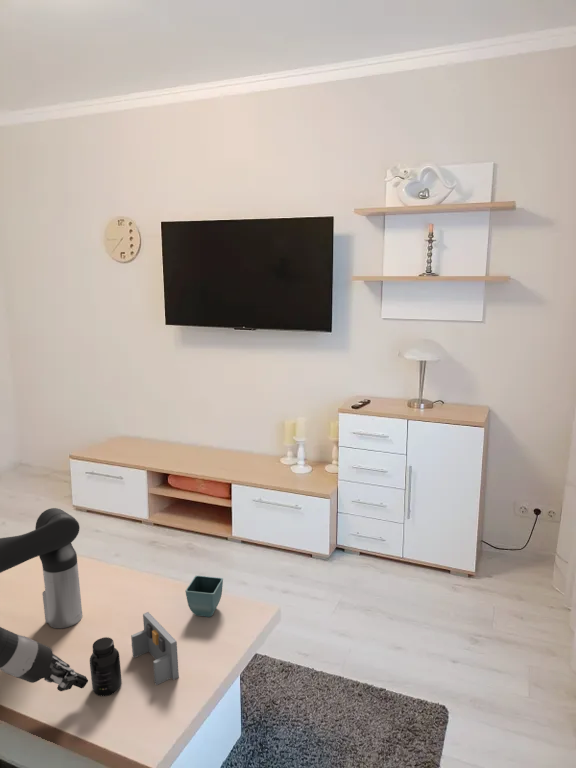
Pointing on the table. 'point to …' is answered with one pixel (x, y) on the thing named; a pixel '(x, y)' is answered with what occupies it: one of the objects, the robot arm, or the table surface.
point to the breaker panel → (157, 648)
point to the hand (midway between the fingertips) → (84, 682)
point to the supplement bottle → (105, 667)
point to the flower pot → (204, 595)
